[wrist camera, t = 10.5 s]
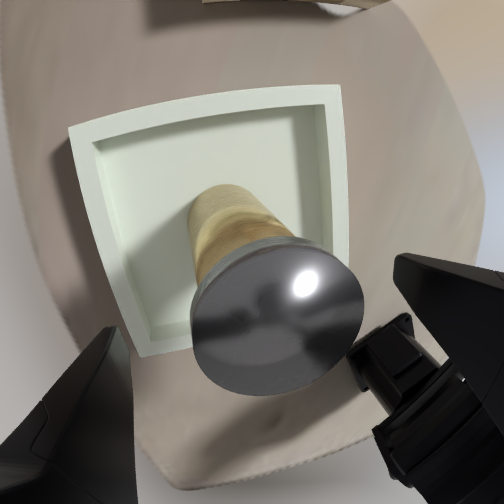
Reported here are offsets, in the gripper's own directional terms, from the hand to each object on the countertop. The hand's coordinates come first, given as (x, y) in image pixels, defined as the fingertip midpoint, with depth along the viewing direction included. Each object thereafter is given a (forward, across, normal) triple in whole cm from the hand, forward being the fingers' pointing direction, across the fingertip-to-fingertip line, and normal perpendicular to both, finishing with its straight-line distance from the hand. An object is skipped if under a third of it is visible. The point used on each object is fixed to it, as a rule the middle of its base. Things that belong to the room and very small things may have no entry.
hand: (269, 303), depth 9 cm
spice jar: (+8, 0, 0) cm, 8 cm away
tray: (+9, 0, 0) cm, 9 cm away
